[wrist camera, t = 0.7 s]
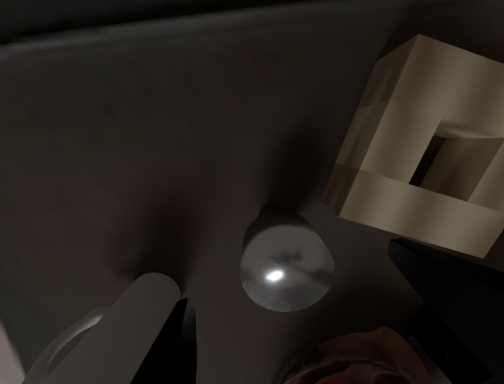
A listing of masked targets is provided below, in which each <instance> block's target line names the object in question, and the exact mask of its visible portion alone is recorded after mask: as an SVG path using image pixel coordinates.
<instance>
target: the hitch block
mask: <svg viewBox="0 0 504 384" xmlns="http://www.w3.org/2000/svg"><path fill="white" fill-rule="evenodd" d="M433 135H436V136H439V137H442V138H445V139H444V141H443V143H442V145H441V147H440V149H439V151H438V152H437V154H436V156H435V158H434V160H433V162H432V164H431V166H430V168H429V170H428V171H427V173H426V175H425V177H424V179H423V181H422V183H421V185H420V187H416V186H413V185H410V184H409V182H410V180H411V178H412V176H413V174H414V172H415V170H416V168H417V166H418V164H419V162H420V160H421V158H422V156H423V154H424V152H425V150H426V148H427V146H428V144H429V142H430V140H431V139H432V137H433ZM320 200H321V201H322V202H323V203H324V204H325V205H326V206H327V207H328V208H330V209H331V210H332V211H333V212H334V213H335V214H336V215H337V216H338V217H341V218H344V219H348V220H351V221H355V222H358V223H362V224H365V225H369V226H372V227H376V228H379V229H383V230H386V231H390V232H393V233H396V234H400V235H403V236H407V237H410V238H414V239H417V240H421V241H424V242H428V243H431V244H435V245H438V246H442V247H445V248H449V249H452V250H456V251H459V252H462V253H466V254H469V255H473V256H476V257H480V258H483V259H484V257H485V256H486V254H487V253H488V251H489V250H490V248H491V247H492V245H493V244H494V242H495V241H496V239H497V238H498V237H499V235H500V234H501V232H502V231H503V229H504V64H503V63H500V62H497V61H494V60H491V59H488V58H486V57H483V56H480V55H477V54H474V53H472V52H469V51H466V50H463V49H460V48H457V47H455V46H452V45H449V44H446V43H443V42H441V41H438V40H435V39H432V38H429V37H426V36H424V35H421V34H418V35H416V36H415V37H413V38H412V39H410V40H409V41H407V42H405V43H404V44H402V45H401V46H399V47H398V48H396V49H395V50H393V51H392V52H390V53H389V54H387V55H386V56H384V57H383V58H381V59H379V60H378V61H376V62H375V64H374V67H373V69H372V72H371V74H370V77H369V79H368V82H367V84H366V87H365V89H364V92H363V94H362V97H361V99H360V102H359V104H358V107H357V109H356V112H355V114H354V117H353V119H352V122H351V124H350V127H349V129H348V131H347V134H346V136H345V139H344V141H343V144H342V146H341V149H340V151H339V154H338V156H337V159H336V161H335V164H334V166H333V169H332V171H331V174H330V176H329V179H328V181H327V184H326V186H325V189H324V191H323V194H322V196H321V199H320Z"/></svg>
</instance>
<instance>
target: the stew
mask: <svg viewBox="0 0 504 384" xmlns="http://www.w3.org/2000/svg"><path fill="white" fill-rule="evenodd" d="M350 364H351V365H350ZM315 365H316V366H315ZM344 365H350V366H349V367H348V369H346V370H345V371H342V372H339V373H335V374H332V375H330V376H328V377H323V378H321V379H320V380H319V381H317V382H316V383H315V384H430V382H431V379H430V376H429V374H428V372H427V370H426V368H425V366H424V365H423V363H422V361H421V360H420V358H419V356H418V355H417V353H416V352H414V349H413V348H412V347H411V346H410V345H409V344H407V343H406V341H405V339H404V338H403V337H402V336H401V335H399V334H398V333H397V332H395V331H393V330H392V329H390V328H389V327H388V326H383V327H381V328H378V329H376V330H374V331H371V332H367V333H363V332H357V333H351V334H346V335H342V336H339V337H336V338H333V339H330V340H328V341H325V342H323V343H321V344H319V345H318V346H317V351H315V352H312V353H310V354H308V355H307V356H305V357H303V358H302V359H301V360H300V361H299V362H297V363H296V364H295V365H294V367H293V368H292V369H290V370H289V371H288V372H287V373H286V375H285V376H284V377H283V379H282V382H281V384H298V383H299V381H300V379H301V378H302V377H304V376H306V375H307V374H308V373H309V372H313V371H317V370H321V371H323V370H333V369H336V368H339V367H342V366H344ZM312 366H314V367H312Z"/></svg>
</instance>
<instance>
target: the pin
mask: <svg viewBox="0 0 504 384" xmlns="http://www.w3.org/2000/svg"><path fill="white" fill-rule="evenodd" d="M333 277H334V263H333V259H332V256H331V254H330V252H329V251H328V249H327V248H326V246H325V245H324V243H323V242H322V240H321V239H320V237H319V236H318V234H317V233H316V231H315V230H314V228H313V227H312V225H311V224H310V223H309V222H308V221H307V220H306V219H305V218H304V217H303V216H301V215H299V214H297V213H295V212H292V211H287V210H286V209H285V208H283V207H280V206H270V207H267V208H265V209H264V210H263V211H262V212H261V213H260V214H259V216H258V218H256V219H255V220H254V221H253V222H252V223H251V224H250V226H249V227H248V229H247V230H246V233H245V236H244V241H243V250H242V258H241V267H240V278H241V283H242V285H243V288H244V290H245V291H246V293H247V294H248V296H249V297H250V298H251V299H252V300H253V301H255V302H256V303H257V304H259V305H261V306H262V307H265V308H267V309H270V310H274V311H280V312H292V311H298V310H302V309H304V308H307V307H309V306H311V305H313V304H314V303H316V302H317V301H319V300H320V299H321V298H322V297H323V296H324V295H325V294H326V292H327V291H328V290H329V288H330V286H331V284H332V281H333Z"/></svg>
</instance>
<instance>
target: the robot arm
mask: <svg viewBox="0 0 504 384" xmlns="http://www.w3.org/2000/svg"><path fill="white" fill-rule="evenodd" d="M388 256H389V258H390V259H391V261H392V262H393V263H394V265H395V266H396V267H397V268H398V270H399V271H400V272H401V273H402V275H403V276H404V277H405V279H406V280H407V281H408V282H409V284H410V285H411V286H412V287H413V289H414V290H415V291H416V292H417V293H418V294H419V295H420V296H421V297H422V299H423V300H424V301H425V302H426V303H427V304H426V305H425V307H424V308H423V310H422V311H421V313H420V314H419V316H418V317H417V319H416V321H415V322H414V324H413V325H412V327H411V328H410V330H409V332H408V333H407V335H406V336H405V338H404V339H405V341H406V343H407V344H409V345H413V346H417V347H421V348H423V349H424V351H425V352H426V353H427V354H428V356H429V357H430V358H431V359H432V361H433V362H434V363H435V364H436V365H437V367H439V368H440V369H441V370H442V372H443V373H444V374H445V375H446V377H447V378H448V379H449V380H450V381H451V383H452V384H504V272H503V271H500V270H497V269H494V268H491V267H488V266H485V265H482V264H479V263H476V262H473V261H470V260H467V259H464V258H461V257H458V256H455V255H452V254H449V253H446V252H443V251H441V250H438V249H435V248H432V247H429V246H426V245H423V244H420V243H417V242H414V241H411V240H408V239H405V238H402V237H397V238H394V239H391V240H390V242H389V248H388ZM196 371H197V342H196V315H195V310H194V308H193V306H192V304H191V302H190V300H189V298H185V299H181V300H179V301H177V303H176V304H175V306H174V308H173V309H172V311H171V313H170V315H169V316H168V318H167V320H166V322H165V323H164V325H163V327H162V329H161V330H160V332H159V334H158V336H157V337H156V339H155V341H154V342H153V344H152V346H151V348H150V349H149V351H148V353H147V355H146V356H145V358H144V360H143V362H142V363H141V365H140V367H139V369H138V370H137V372H136V374H135V375H134V377H133V379H132V381H131V382H130V384H196Z"/></svg>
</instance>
